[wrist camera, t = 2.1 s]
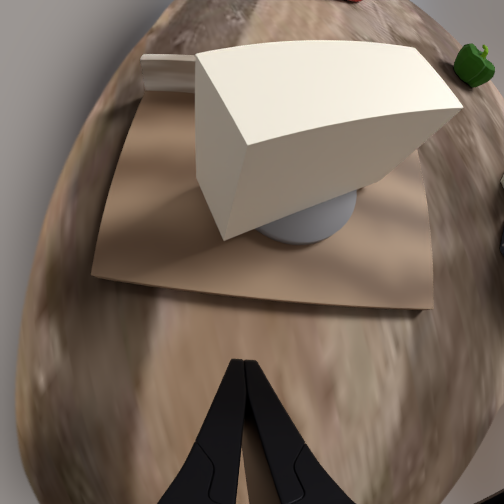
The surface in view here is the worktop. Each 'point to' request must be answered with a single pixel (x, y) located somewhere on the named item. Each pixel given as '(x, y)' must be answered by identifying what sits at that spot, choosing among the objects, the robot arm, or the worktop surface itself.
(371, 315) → the worktop surface
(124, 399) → the worktop surface
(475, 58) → the bell pepper
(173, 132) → the shelf board
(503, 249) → the small box
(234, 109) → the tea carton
